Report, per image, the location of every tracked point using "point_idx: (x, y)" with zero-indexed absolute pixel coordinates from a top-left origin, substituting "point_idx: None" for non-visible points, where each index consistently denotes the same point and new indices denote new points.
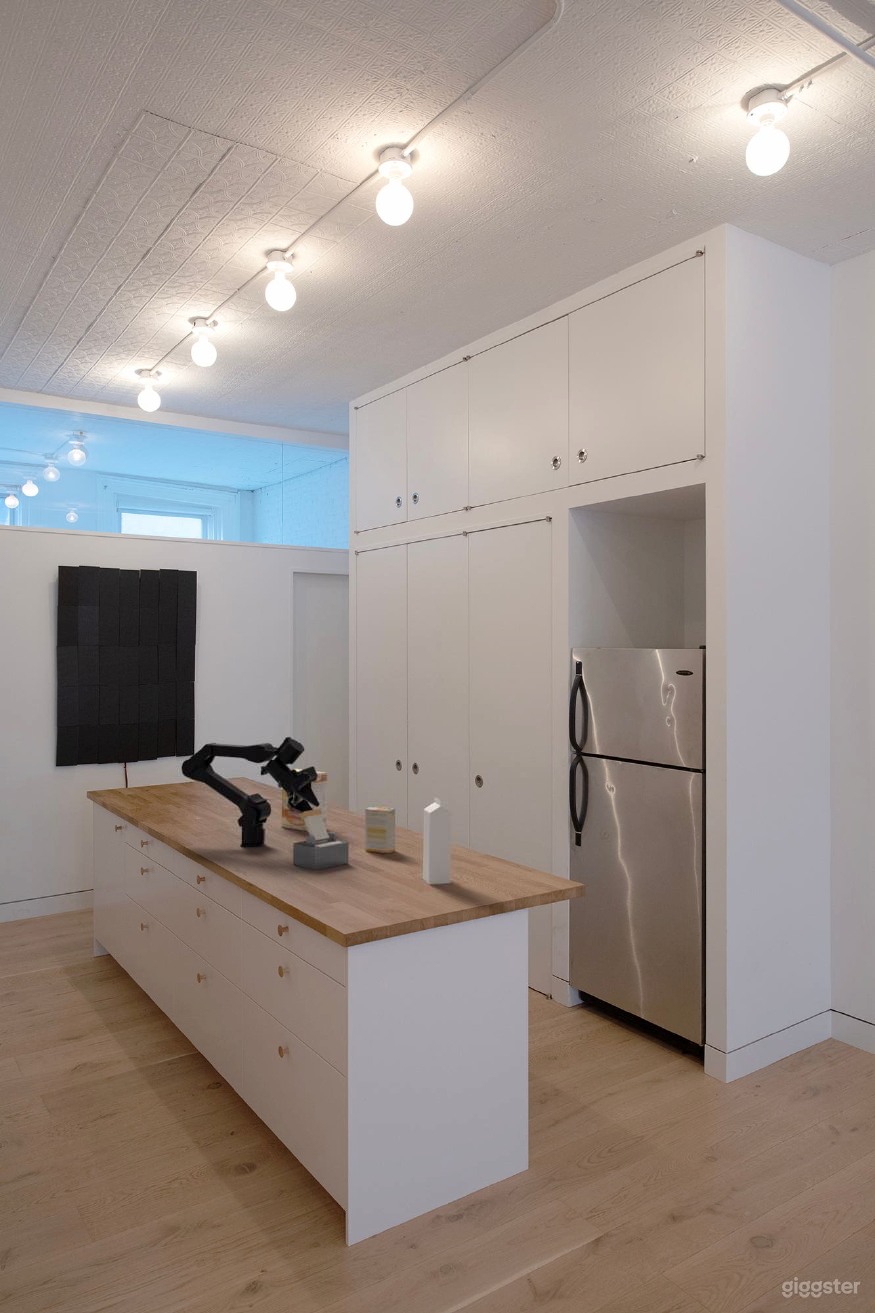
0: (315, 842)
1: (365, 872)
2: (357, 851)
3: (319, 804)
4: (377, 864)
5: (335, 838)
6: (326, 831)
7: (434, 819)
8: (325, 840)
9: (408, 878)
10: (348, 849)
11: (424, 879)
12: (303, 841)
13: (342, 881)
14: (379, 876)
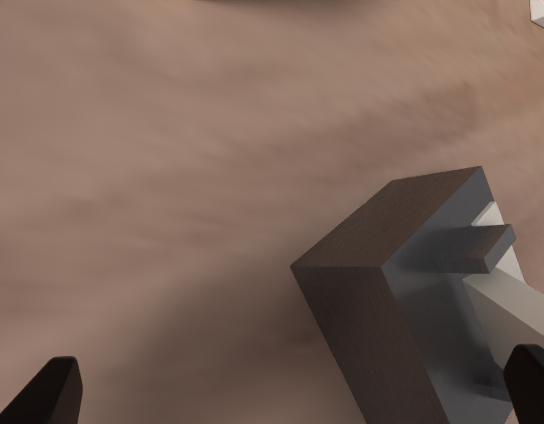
0: (471, 345)
1: (479, 153)
2: (184, 46)
3: (536, 346)
4: (411, 68)
5: (482, 229)
6: (518, 282)
7: None
8: (443, 283)
9: (524, 54)
10: (449, 171)
11: (542, 24)
12: (451, 420)
13: (534, 251)
14: (509, 126)
